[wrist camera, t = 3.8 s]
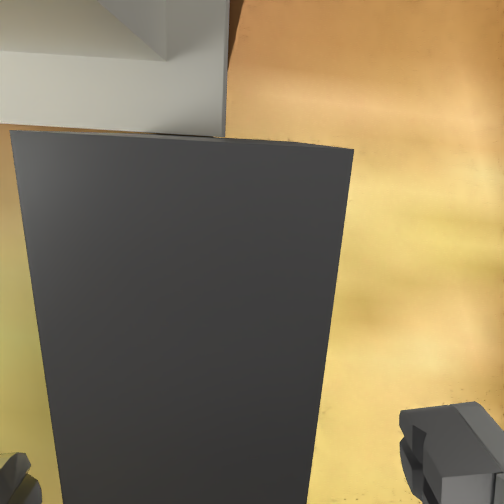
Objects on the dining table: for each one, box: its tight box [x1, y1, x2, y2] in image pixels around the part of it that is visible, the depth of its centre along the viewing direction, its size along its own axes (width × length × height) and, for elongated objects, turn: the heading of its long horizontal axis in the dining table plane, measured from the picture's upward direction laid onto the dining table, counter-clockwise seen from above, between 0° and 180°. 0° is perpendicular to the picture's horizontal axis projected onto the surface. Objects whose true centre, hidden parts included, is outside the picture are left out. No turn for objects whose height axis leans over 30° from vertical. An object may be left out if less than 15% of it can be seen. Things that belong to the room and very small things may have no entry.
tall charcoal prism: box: [10, 130, 354, 504], centre depth 8 cm, size 13×3×5 cm, turn 177°
